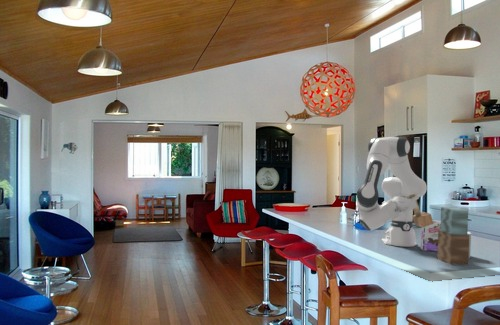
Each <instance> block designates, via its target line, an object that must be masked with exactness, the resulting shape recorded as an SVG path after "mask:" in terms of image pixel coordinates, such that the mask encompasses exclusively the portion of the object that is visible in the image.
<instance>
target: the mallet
mask: <svg viewBox="0 0 500 325" xmlns="http://www.w3.org/2000/svg"><path fill="white" fill-rule="evenodd" d="M413 196H415V194H410V195H409V197H410V199H411V198H413ZM416 203H417V207H416V208H414V209H413V216H412V217H413V219H412V221H413V224H414V225H415V226H417V227H419V228H421V229H422V228H423V227H426V226H428V225H431V224H434V223H433V217H432V214H431V213H429V212H425V211H422V212H421V210H420V206H419V203H418V199H417V200H416Z"/></svg>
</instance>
